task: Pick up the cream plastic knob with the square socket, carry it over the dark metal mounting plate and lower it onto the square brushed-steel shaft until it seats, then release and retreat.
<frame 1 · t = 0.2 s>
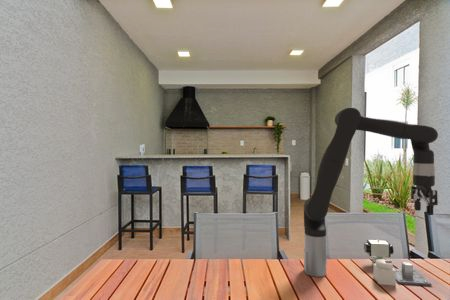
hand: (423, 212, 117), 28 cm above the table, fingers open, 8 cm apart
knob: (384, 281, 116), on the table
pneumatic valve: (378, 264, 133), on the table
shaft mount: (407, 277, 119), on the table
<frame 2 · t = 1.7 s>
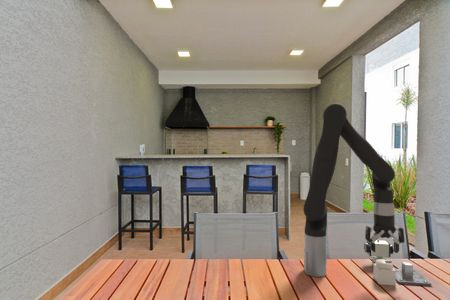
hand: (384, 251, 115), 12 cm above the table, fingers open, 8 cm apart
nothing on the table moved.
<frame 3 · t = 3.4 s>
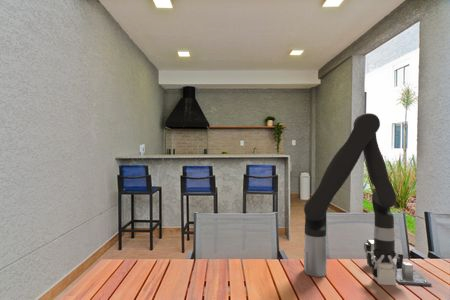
hand: (384, 277, 116), 2 cm above the table, fingers closed on knob, 6 cm apart
knob: (384, 281, 116), on the table, touching gripper
everything else where it was.
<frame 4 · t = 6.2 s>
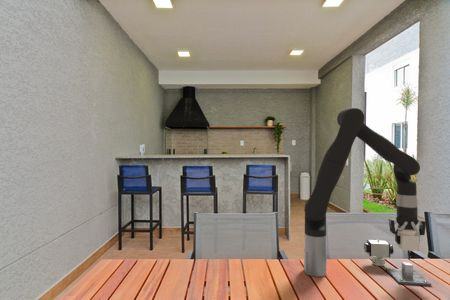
hand: (407, 244, 119), 14 cm above the table, fingers closed on knob, 6 cm apart
knob: (407, 247, 119), point 13 cm above the table, touching gripper
everything else where it was.
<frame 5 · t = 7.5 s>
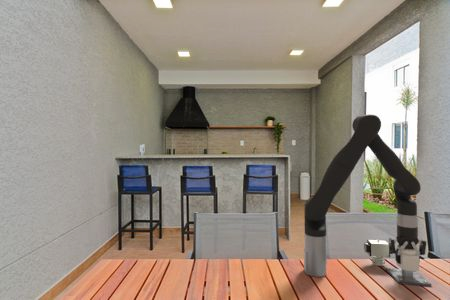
hand: (407, 263, 119), 6 cm above the table, fingers closed on knob, 6 cm apart
knob: (407, 267, 119), point 4 cm above the table, touching gripper
everything else where it was.
when the fingers open (4 cm above the table, at t = 8.9 s): knob drops 1 cm, resting on shaft mount.
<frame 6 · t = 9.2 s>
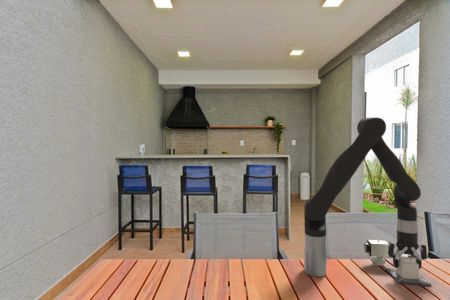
hand: (407, 267, 119), 4 cm above the table, fingers open, 8 cm apart
knob: (407, 275, 119), point 1 cm above the table, touching shaft mount
everything else where it was.
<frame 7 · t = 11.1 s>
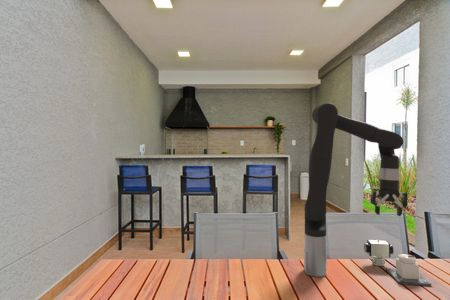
hand: (388, 215, 123), 26 cm above the table, fingers open, 8 cm apart
nothing on the table moved.
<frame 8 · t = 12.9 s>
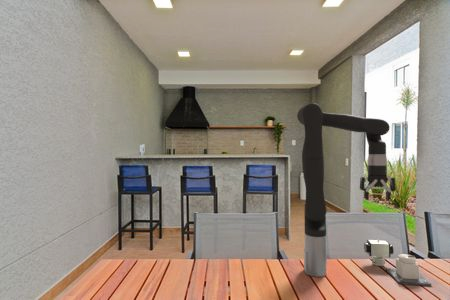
hand: (377, 200, 125), 32 cm above the table, fingers open, 8 cm apart
nothing on the table moved.
at the end: knob 0.1 cm off-centre on the shaft mount, point 1.0 cm above the shaft mount's base; knob tilted 0°; the gripper is holding nothing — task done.
